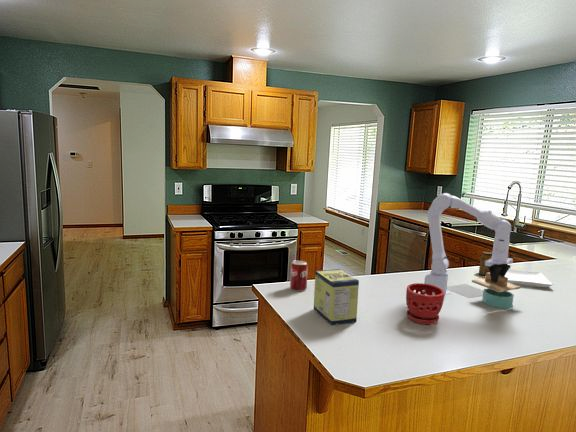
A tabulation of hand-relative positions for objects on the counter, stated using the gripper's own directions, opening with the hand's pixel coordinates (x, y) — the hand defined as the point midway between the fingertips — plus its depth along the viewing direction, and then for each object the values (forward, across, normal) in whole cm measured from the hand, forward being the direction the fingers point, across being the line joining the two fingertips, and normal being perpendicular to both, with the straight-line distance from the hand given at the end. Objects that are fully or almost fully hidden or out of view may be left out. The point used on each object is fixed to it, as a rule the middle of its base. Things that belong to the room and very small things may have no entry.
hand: (496, 281), depth 171 cm
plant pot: (+10, -42, -2) cm, 43 cm away
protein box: (+10, -71, +13) cm, 73 cm away
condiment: (+10, +32, +30) cm, 45 cm away
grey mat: (+9, +1, +15) cm, 17 cm away
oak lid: (+2, 0, 0) cm, 2 cm away
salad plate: (+10, +42, +16) cm, 46 cm away
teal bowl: (+9, 0, -1) cm, 10 cm away
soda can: (+9, -70, +44) cm, 83 cm away
